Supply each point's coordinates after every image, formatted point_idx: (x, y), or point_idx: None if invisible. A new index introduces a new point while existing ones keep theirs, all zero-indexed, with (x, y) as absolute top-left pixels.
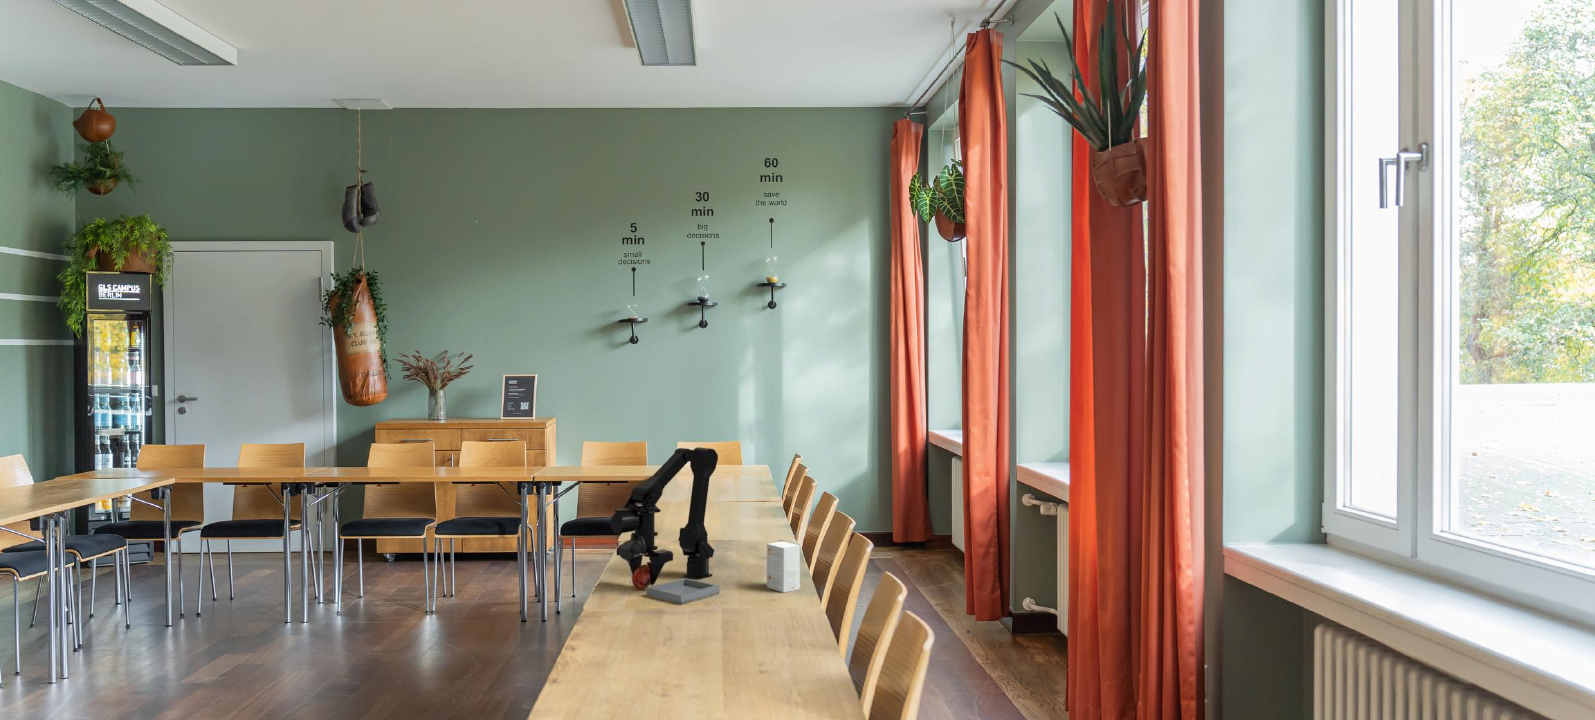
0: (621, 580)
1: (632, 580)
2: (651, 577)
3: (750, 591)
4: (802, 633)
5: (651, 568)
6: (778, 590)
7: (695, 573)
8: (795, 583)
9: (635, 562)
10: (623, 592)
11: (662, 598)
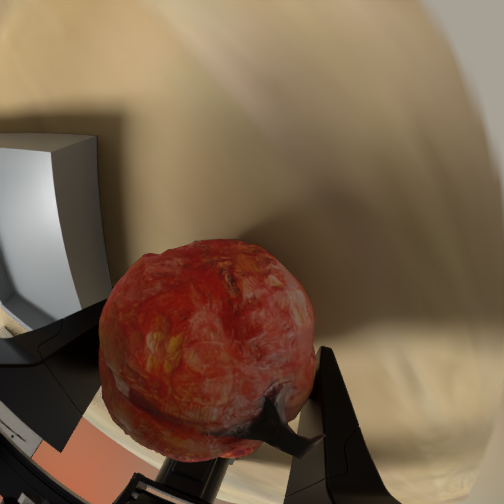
0: (463, 383)
1: (270, 274)
2: (94, 307)
3: (20, 327)
4: None
5: (28, 346)
6: (10, 334)
7: None
8: None
9: (305, 495)
10: (317, 134)
11: (14, 134)
